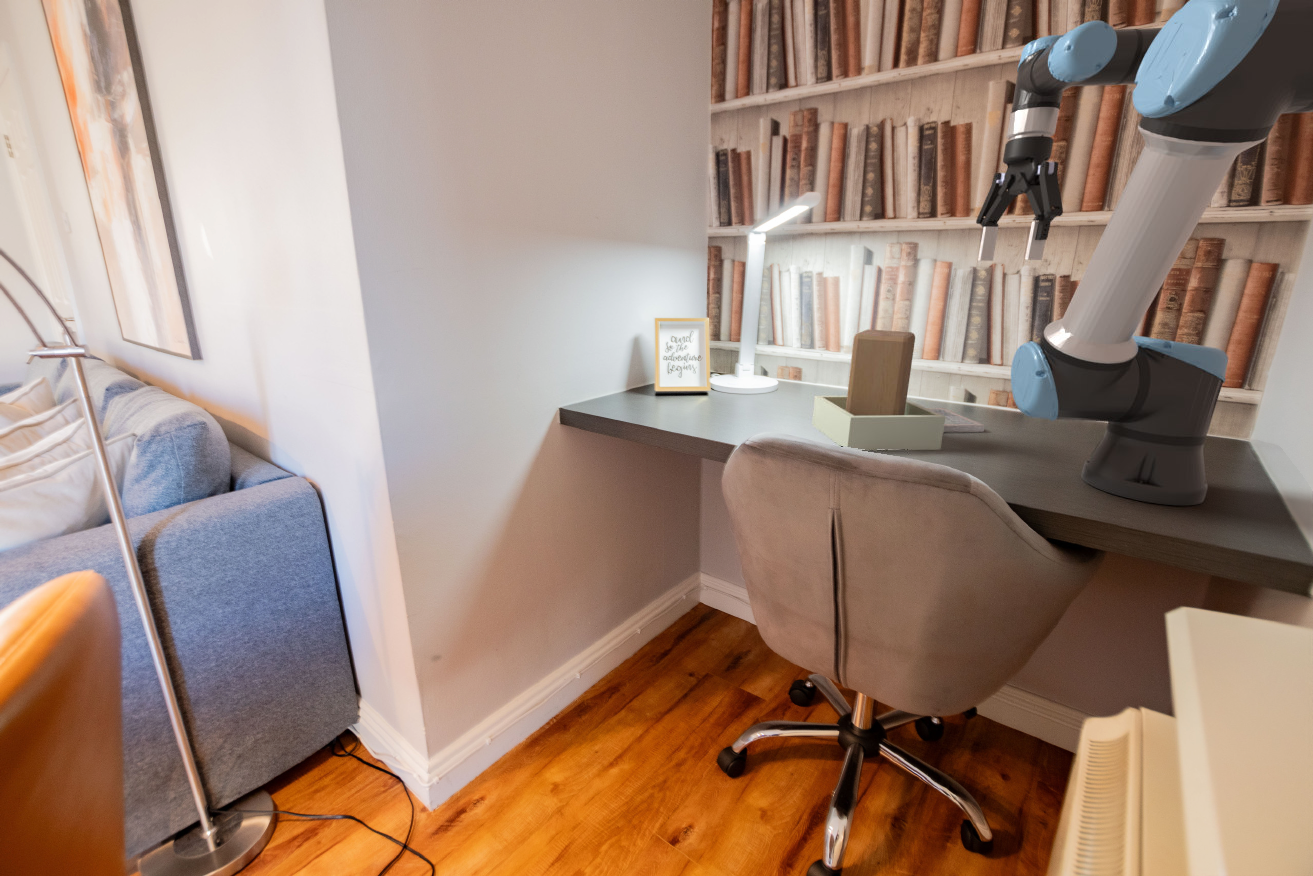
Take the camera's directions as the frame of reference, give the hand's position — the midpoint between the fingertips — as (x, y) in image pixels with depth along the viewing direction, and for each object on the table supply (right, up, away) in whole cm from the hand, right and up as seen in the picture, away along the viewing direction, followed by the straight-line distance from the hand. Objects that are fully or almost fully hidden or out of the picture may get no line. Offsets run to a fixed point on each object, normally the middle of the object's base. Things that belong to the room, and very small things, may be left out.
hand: (1007, 260), depth 111 cm
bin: (-24, -34, +6) cm, 42 cm away
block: (-24, -33, +5) cm, 42 cm away
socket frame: (-7, -31, +17) cm, 36 cm away
